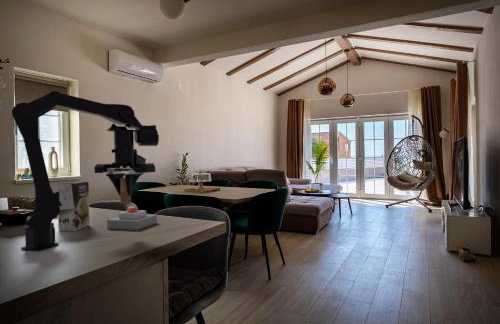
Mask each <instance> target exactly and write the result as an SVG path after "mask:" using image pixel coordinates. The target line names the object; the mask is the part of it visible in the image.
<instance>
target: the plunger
mask: <svg viewBox="0 0 500 324" xmlns="http://www.w3.org/2000/svg"><path fill="white" fill-rule="evenodd" d="M137 210H138V207H137V206H129V207H127V211H128V213H136V212H137Z"/></svg>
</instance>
